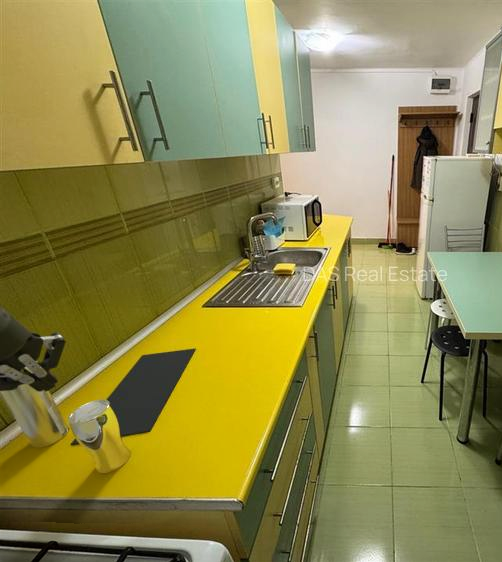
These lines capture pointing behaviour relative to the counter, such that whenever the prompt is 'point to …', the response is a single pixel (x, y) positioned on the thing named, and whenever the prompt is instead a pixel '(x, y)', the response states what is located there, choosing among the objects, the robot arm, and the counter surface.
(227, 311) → the counter surface
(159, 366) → the mat
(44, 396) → the silver metal cylinder
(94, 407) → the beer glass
